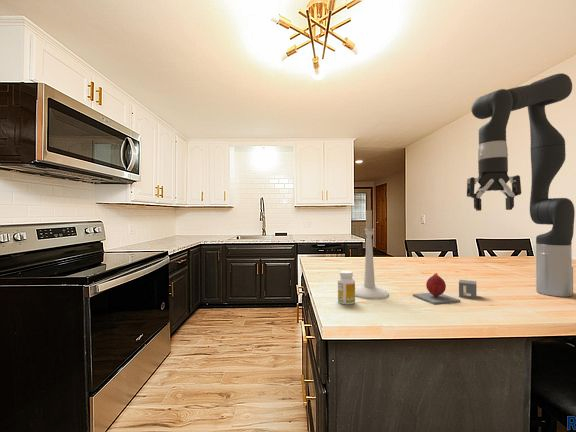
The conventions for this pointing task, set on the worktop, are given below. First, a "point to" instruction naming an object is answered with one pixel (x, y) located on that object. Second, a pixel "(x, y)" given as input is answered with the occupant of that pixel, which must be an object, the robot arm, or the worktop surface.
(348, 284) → the supplement bottle
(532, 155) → the robot arm
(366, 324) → the worktop surface
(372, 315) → the worktop surface
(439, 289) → the onion
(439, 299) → the mat
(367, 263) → the candlestick
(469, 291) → the marked cube
